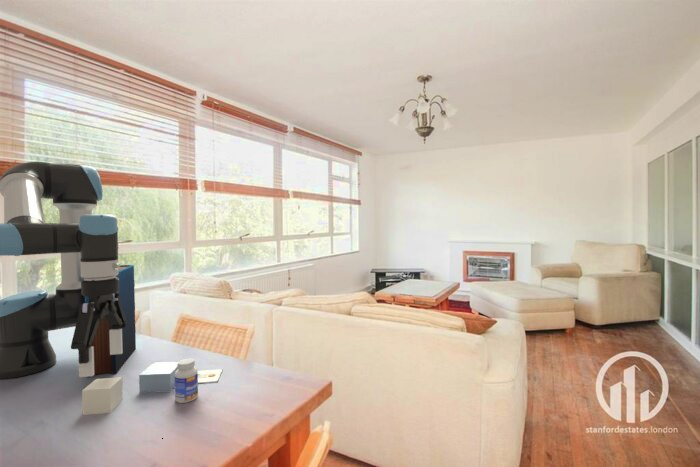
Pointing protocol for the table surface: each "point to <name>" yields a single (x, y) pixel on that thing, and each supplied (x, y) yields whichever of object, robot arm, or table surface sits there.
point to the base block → (158, 377)
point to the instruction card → (209, 376)
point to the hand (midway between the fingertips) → (102, 364)
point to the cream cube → (102, 396)
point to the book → (102, 338)
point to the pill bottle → (186, 381)
